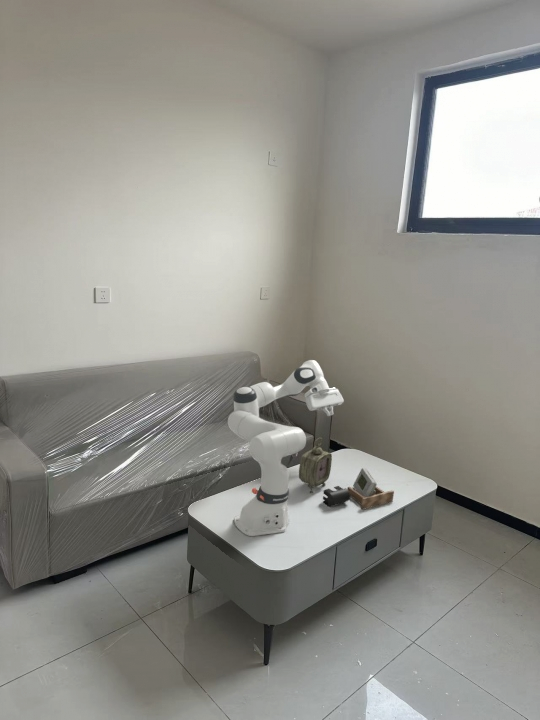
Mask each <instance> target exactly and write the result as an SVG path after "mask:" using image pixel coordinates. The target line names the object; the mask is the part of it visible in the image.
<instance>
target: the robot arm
mask: <svg viewBox="0 0 540 720" xmlns="http://www.w3.org/2000/svg"><path fill="white" fill-rule="evenodd" d="M307 387H309V388H310V389H309V390H307V392H305V393H304V398H305V404H306V406H307V409H308V410H309V411H310V412H311V411H312V412H313V411H318V410H322V411H323V412H324V413H325V414H326V417H330V416H333V415H334V407H337V406H341V405H342V404H344V402H345V400H344V398H343V395H342V393H341V392H340V390H339V388H336V387H330V386H329V384H328V382H327V380H326V378H325V375H324V371H323V369H322V368H321V366H320V363H318V362H317V360H313V359H309V360H306V361H304V362H303V363H302V365H300V366H299V367H298V368H295V369H294V370H293V372H292V373H291V374H290V375H289V376H288V377H287V378H285V380H284V381H283V382H282V383H281V384H280V385H279V384H278V385H276V386H273V384H271V383H269V382H267V381H263V382H258V383H256V384H253V385H251V386H241V387H239V388H236V390H235V391H234V392H233V396H232V399H233V411H232V412H231V413H230V414H229V416H228V418H227V424H228V425H227V426H228V428H229V429H230V430H231V431H232V432H233V433H234V434H235V436H238V437H239V438H240V439H242V440H244V441H246V442H247V443H249V444H248V451H249V454H250V456H251V457H252V459H254V460H255V461H256V462H257V463H258V465H259V467H260V471H261V474H260V475H261V477H260V478H261V479H260V486H259V488H258V489H257V488H256V487H253V488H252V489H251V493H253V494H254V495H255V496H254V497H253V498H251V500H249V501H248V502H247V503H245V504H244V505H243V506H242V508H241V511H240V514H238V515H236V516H235V517H234V519H233V522H234V524H235V526H236V527H237V529H238V530H239V531H240V532H241V533H243V534H245V536H249V537H254V536H255V537H256V536H261V535H269V534H270V535H272V534H278V533H284V532H286V530H287V526H288V525H289V523H290V518H289V512H288V510H289V509H288V500H289V497H290V489H289V483H290V471H289V469H288V468H287V466H286V465H284V464H283V463H282V459H283V458H285V457H287V456H291V455H294V454H297V453H299V452H300V451H302V450H303V449H304V448H305V447H306V444H307V437H306V436H307V435H306V434H305V432H304V430H303V429H302V428H300V426H299V427H298V426H289V425H285V424H284V425H283V424H279V423H277V422H276V423H275V422H272V421H267V420H265V419H263V418H261V417H260V408H262V407H265V406H267V405H269V404H270V403H271V404H272V402H273V401H276V400H278V399H282V398H284V397H296V396H299V395H300V394H301V393H302V391H303V390H304V389H305V388H307Z"/></svg>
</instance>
